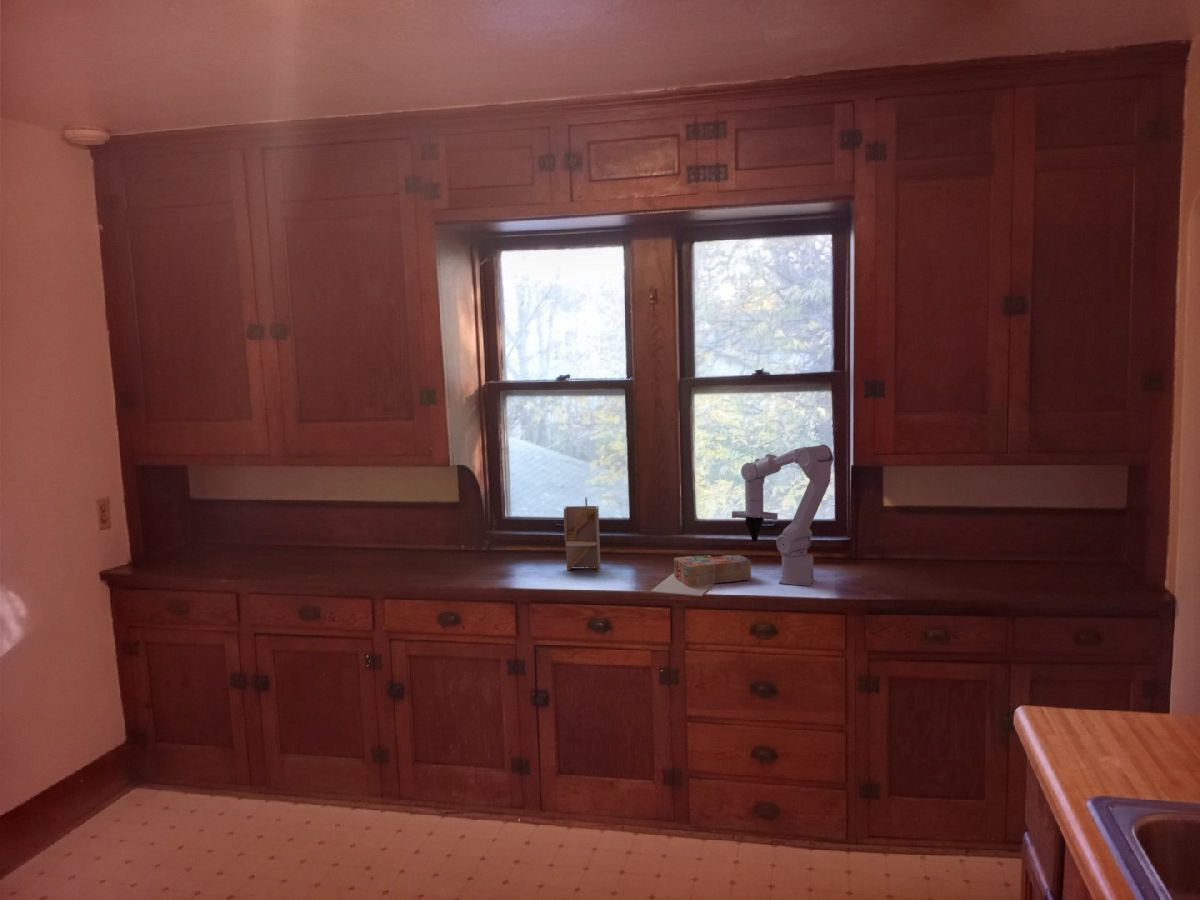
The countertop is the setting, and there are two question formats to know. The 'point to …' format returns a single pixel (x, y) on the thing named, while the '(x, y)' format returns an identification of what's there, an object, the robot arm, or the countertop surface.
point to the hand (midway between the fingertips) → (754, 540)
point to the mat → (680, 587)
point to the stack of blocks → (711, 569)
